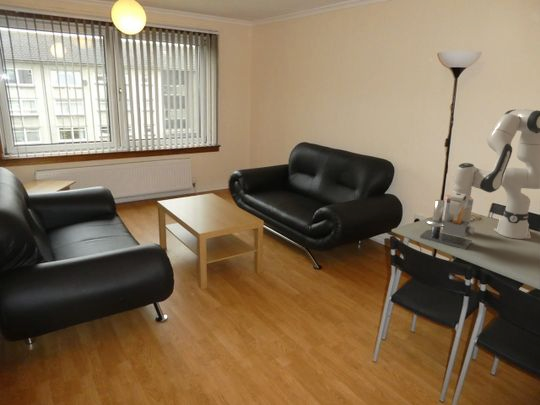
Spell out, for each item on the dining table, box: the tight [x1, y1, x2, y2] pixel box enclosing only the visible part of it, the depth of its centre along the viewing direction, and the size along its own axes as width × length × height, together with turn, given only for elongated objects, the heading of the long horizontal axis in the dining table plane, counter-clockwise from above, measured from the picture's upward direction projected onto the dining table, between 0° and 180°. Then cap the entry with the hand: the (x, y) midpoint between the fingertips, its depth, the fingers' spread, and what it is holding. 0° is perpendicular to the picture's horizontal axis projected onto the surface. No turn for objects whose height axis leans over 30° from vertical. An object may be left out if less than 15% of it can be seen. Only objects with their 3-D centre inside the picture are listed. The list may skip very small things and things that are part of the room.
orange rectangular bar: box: [452, 207, 464, 224], centre depth 212 cm, size 3×4×14 cm
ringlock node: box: [419, 199, 476, 250], centre depth 215 cm, size 12×25×22 cm, turn 50°
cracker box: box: [441, 194, 474, 232], centre depth 230 cm, size 14×6×21 cm, turn 76°
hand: (457, 218), depth 212 cm, fingers open, 3 cm apart
